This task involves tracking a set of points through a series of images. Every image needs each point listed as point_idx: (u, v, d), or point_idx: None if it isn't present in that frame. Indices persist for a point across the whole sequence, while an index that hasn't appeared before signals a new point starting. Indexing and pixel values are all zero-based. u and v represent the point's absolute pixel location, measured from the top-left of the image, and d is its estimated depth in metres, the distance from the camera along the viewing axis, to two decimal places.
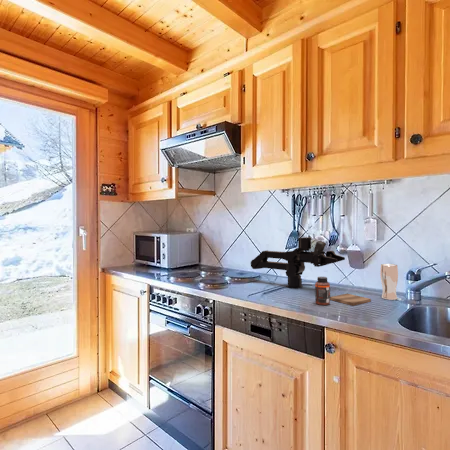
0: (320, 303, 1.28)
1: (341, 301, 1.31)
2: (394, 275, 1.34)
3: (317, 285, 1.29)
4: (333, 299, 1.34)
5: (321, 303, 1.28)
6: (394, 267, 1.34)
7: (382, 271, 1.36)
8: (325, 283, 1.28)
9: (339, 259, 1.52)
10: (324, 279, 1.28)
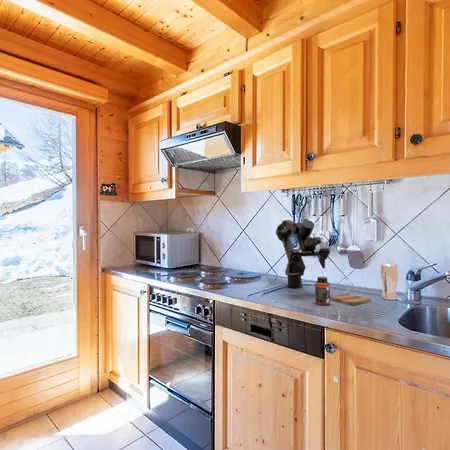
0: (320, 303, 1.28)
1: (341, 301, 1.31)
2: (394, 275, 1.34)
3: (317, 285, 1.29)
4: (333, 299, 1.34)
5: (321, 303, 1.28)
6: (394, 267, 1.34)
7: (382, 271, 1.36)
8: (325, 283, 1.28)
9: (321, 264, 1.41)
10: (324, 279, 1.28)
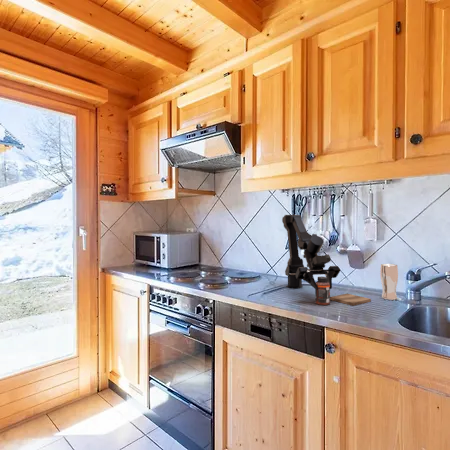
0: (320, 303, 1.28)
1: (341, 301, 1.31)
2: (394, 275, 1.34)
3: (317, 285, 1.29)
4: (333, 299, 1.34)
5: (321, 303, 1.28)
6: (394, 267, 1.34)
7: (382, 271, 1.36)
8: (325, 283, 1.28)
9: None
10: (324, 279, 1.28)
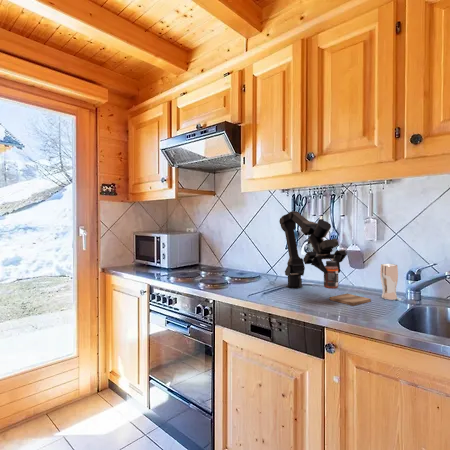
0: (329, 287, 1.28)
1: (341, 301, 1.31)
2: (394, 275, 1.34)
3: (326, 269, 1.29)
4: (333, 299, 1.34)
5: (330, 287, 1.28)
6: (394, 267, 1.34)
7: (382, 271, 1.36)
8: (334, 267, 1.28)
9: None
10: (333, 263, 1.29)
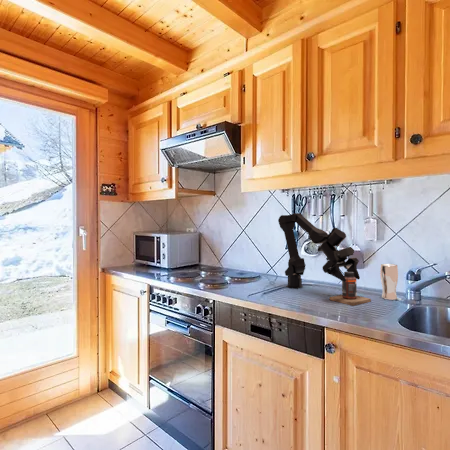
0: (350, 297, 1.32)
1: (341, 301, 1.31)
2: (394, 275, 1.34)
3: (347, 280, 1.32)
4: (333, 299, 1.34)
5: (351, 297, 1.31)
6: (394, 267, 1.34)
7: (382, 271, 1.36)
8: (354, 277, 1.32)
9: (354, 275, 1.37)
10: (352, 274, 1.33)
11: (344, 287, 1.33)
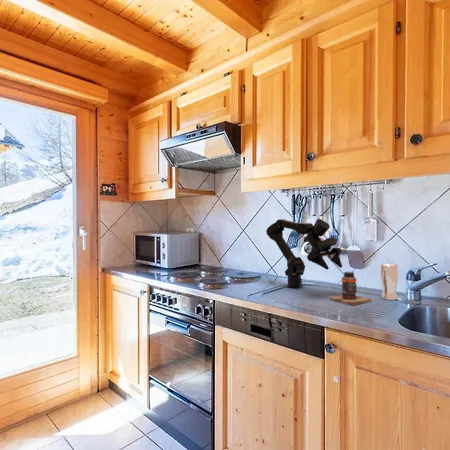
0: (350, 297, 1.32)
1: (341, 301, 1.31)
2: (394, 275, 1.34)
3: (347, 280, 1.32)
4: (333, 299, 1.34)
5: (351, 297, 1.31)
6: (394, 267, 1.34)
7: (382, 271, 1.36)
8: (354, 277, 1.32)
9: (337, 263, 1.45)
10: (352, 274, 1.33)
11: (344, 287, 1.33)
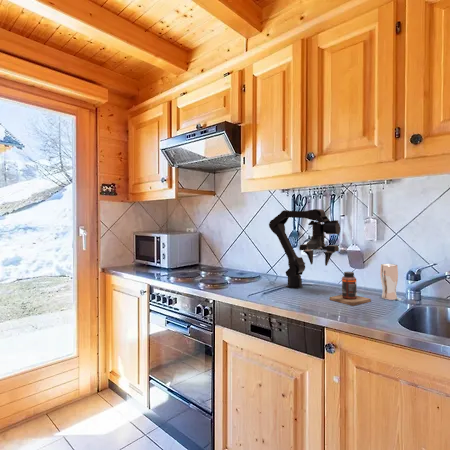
0: (350, 297, 1.32)
1: (341, 301, 1.31)
2: (394, 275, 1.34)
3: (347, 280, 1.32)
4: (333, 299, 1.34)
5: (351, 297, 1.31)
6: (394, 267, 1.34)
7: (382, 271, 1.36)
8: (354, 277, 1.32)
9: None
10: (352, 274, 1.33)
11: (344, 287, 1.33)
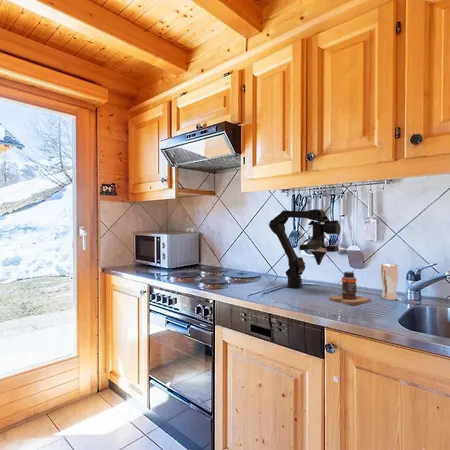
0: (350, 297, 1.32)
1: (341, 301, 1.31)
2: (394, 275, 1.34)
3: (347, 280, 1.32)
4: (333, 299, 1.34)
5: (351, 297, 1.31)
6: (394, 267, 1.34)
7: (382, 271, 1.36)
8: (354, 277, 1.32)
9: None
10: (352, 274, 1.33)
11: (344, 287, 1.33)
